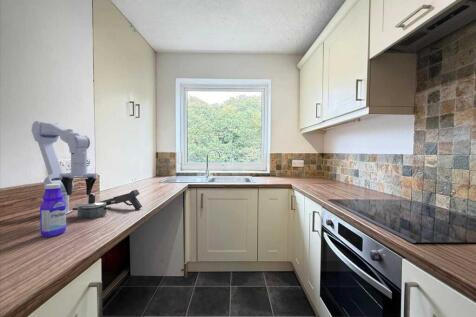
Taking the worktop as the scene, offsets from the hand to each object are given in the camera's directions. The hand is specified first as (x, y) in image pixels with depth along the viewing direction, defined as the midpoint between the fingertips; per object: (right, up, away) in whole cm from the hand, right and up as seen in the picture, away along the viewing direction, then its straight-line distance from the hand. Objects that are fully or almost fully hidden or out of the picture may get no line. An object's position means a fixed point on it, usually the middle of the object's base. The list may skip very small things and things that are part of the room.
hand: (79, 194), depth 105 cm
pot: (+3, -10, +4) cm, 11 cm away
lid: (+4, -6, +3) cm, 8 cm away
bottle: (+5, -11, -21) cm, 24 cm away
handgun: (+8, -10, +19) cm, 23 cm away
